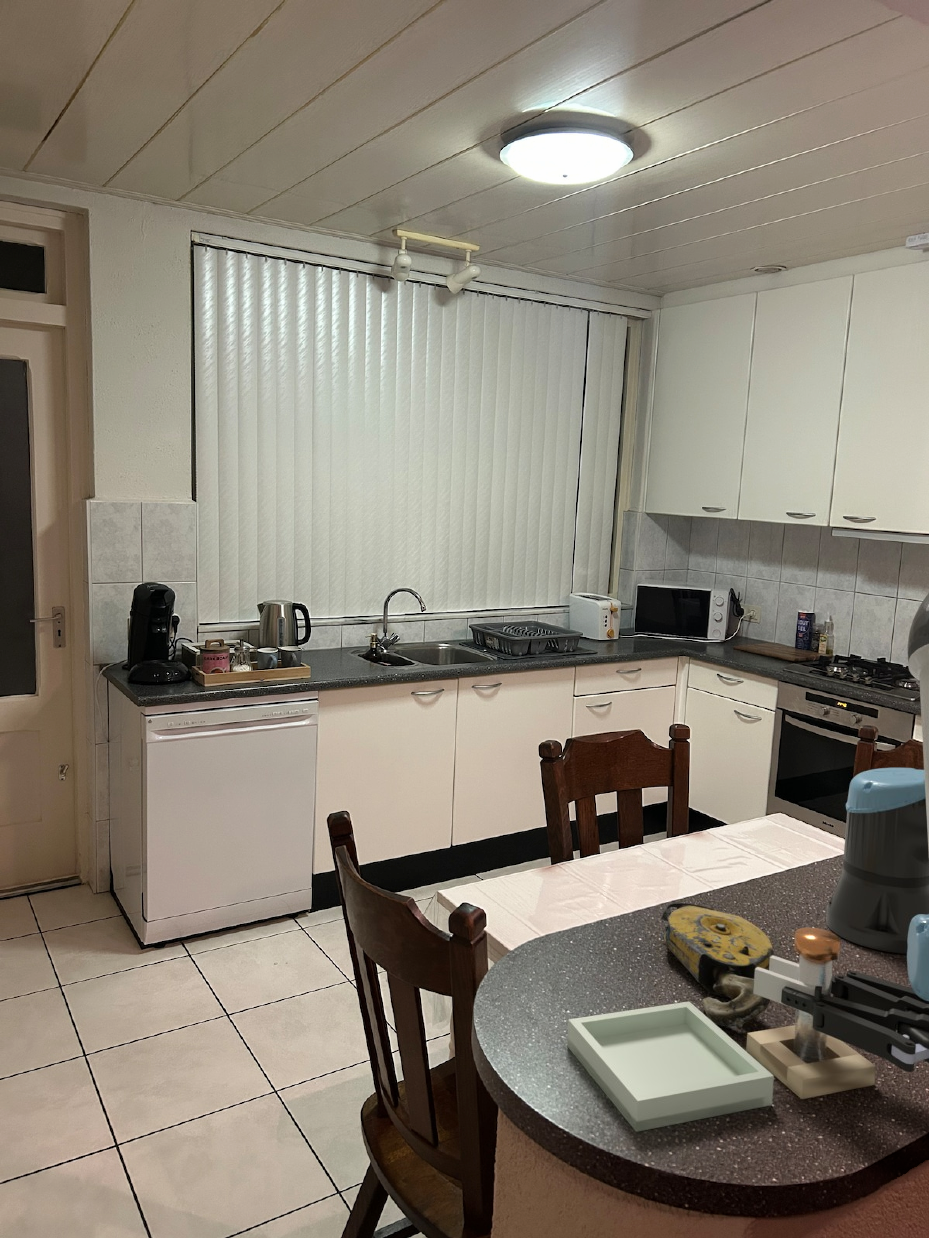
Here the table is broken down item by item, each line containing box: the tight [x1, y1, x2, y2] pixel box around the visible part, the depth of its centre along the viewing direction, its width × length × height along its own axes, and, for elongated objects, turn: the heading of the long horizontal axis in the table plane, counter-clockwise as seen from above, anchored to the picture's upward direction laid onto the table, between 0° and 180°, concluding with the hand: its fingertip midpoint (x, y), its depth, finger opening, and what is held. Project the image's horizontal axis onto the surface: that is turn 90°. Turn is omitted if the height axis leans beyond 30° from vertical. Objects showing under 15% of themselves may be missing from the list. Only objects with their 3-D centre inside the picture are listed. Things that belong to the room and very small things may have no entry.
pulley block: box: [660, 902, 775, 1030], centre depth 117 cm, size 14×6×30 cm
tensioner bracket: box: [745, 1024, 876, 1100], centre depth 97 cm, size 9×9×2 cm
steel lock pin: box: [793, 927, 841, 1064], centre depth 97 cm, size 4×4×14 cm
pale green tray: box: [566, 1001, 775, 1133], centre depth 95 cm, size 15×15×3 cm
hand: (763, 974), depth 100 cm, fingers closed on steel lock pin, 3 cm apart
